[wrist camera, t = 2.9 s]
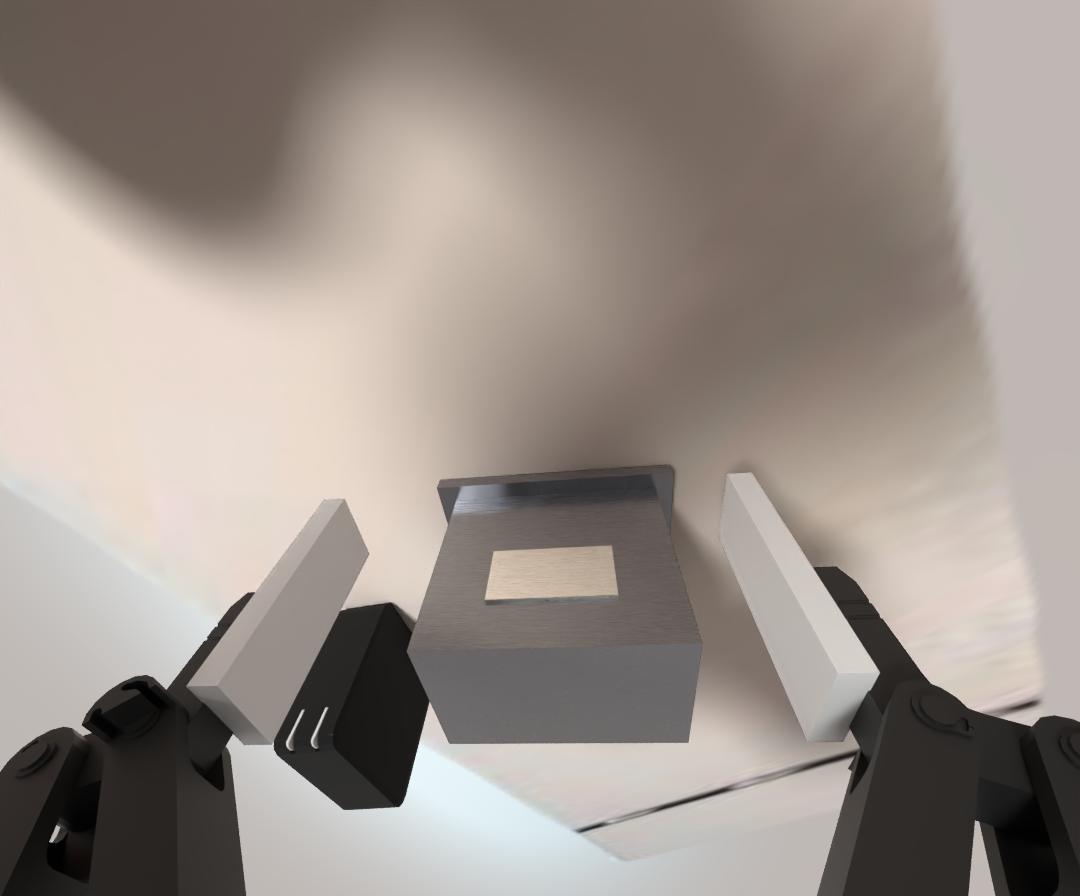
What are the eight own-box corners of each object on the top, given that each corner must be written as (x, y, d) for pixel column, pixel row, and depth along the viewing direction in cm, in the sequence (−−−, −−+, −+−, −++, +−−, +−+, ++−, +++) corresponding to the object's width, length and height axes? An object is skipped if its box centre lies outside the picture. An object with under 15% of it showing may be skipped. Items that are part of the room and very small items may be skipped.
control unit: (440, 480, 27) (376, 637, 17) (670, 464, 25) (732, 626, 16) (471, 588, 32) (435, 753, 23) (664, 580, 30) (707, 752, 21)
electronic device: (395, 675, 39) (348, 814, 30) (340, 604, 34) (266, 748, 25) (438, 671, 38) (402, 812, 30) (389, 597, 33) (329, 742, 24)
